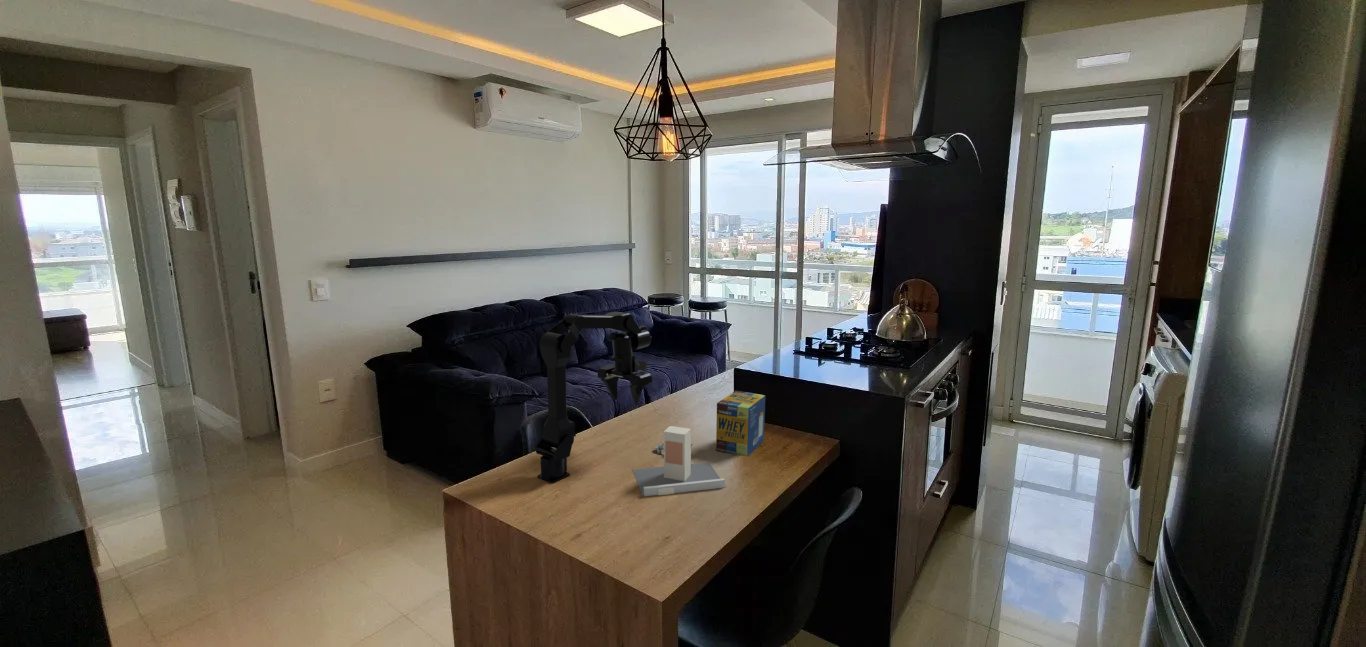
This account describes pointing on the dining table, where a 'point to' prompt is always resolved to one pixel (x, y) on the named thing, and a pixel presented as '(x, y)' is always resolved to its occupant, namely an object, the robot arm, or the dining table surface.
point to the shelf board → (656, 484)
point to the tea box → (677, 453)
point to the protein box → (740, 423)
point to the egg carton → (660, 448)
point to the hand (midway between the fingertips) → (625, 402)
